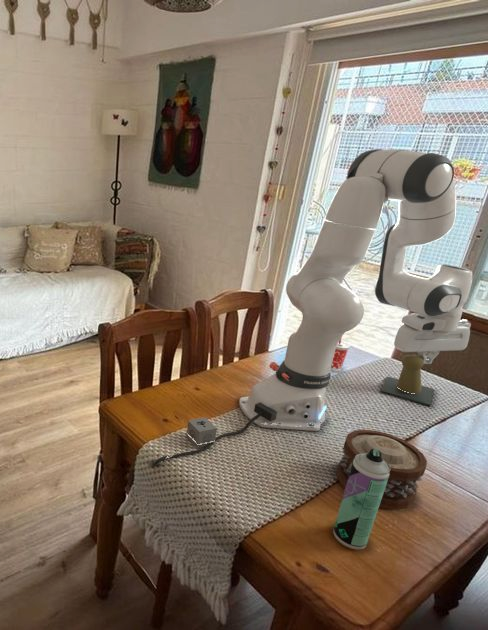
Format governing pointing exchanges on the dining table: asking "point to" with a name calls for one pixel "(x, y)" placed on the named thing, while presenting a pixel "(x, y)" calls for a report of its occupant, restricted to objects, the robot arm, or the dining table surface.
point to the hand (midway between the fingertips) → (424, 363)
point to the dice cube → (201, 431)
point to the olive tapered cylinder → (410, 374)
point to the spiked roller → (400, 458)
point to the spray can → (361, 499)
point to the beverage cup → (339, 356)
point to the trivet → (420, 398)
